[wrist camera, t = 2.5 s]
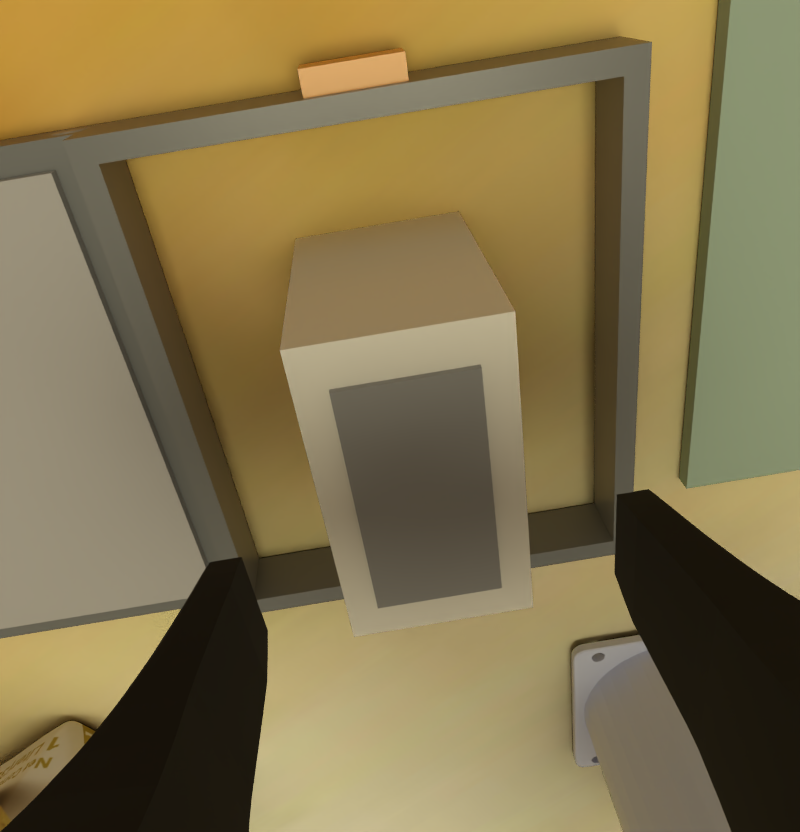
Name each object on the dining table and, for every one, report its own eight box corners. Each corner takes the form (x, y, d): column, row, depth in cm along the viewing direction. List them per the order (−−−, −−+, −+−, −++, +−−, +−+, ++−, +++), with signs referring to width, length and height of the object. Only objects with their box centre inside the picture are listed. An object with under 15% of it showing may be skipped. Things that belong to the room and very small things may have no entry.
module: (458, 210, 19) (517, 314, 13) (481, 449, 23) (534, 611, 17) (295, 237, 19) (279, 353, 13) (348, 471, 23) (354, 641, 17)
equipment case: (620, 8, 17) (652, 11, 15) (610, 513, 25) (630, 551, 24) (-329, 167, 17) (-403, 187, 15) (-29, 619, 25) (-55, 664, 24)
